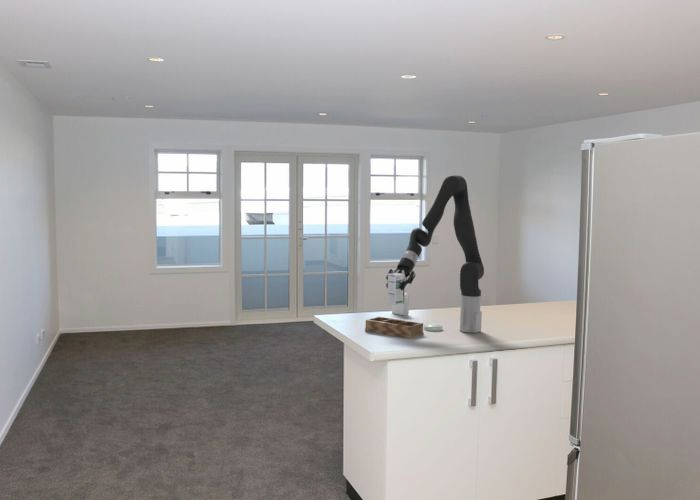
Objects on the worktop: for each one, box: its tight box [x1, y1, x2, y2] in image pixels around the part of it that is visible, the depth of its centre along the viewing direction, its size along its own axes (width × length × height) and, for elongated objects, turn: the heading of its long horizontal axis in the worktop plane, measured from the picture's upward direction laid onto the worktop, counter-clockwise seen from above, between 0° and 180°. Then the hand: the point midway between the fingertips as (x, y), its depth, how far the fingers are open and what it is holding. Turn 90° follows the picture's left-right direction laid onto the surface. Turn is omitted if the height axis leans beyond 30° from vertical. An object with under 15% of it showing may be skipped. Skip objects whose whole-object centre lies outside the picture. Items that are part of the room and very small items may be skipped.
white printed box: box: [391, 291, 410, 316], centre depth 362 cm, size 10×4×12 cm, turn 39°
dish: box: [423, 323, 443, 332], centre depth 324 cm, size 9×9×2 cm
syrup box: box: [387, 273, 405, 305], centre depth 320 cm, size 6×6×14 cm
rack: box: [364, 316, 424, 339], centre depth 314 cm, size 24×13×5 cm, turn 54°
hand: (394, 288), depth 319 cm, fingers closed on syrup box, 7 cm apart
